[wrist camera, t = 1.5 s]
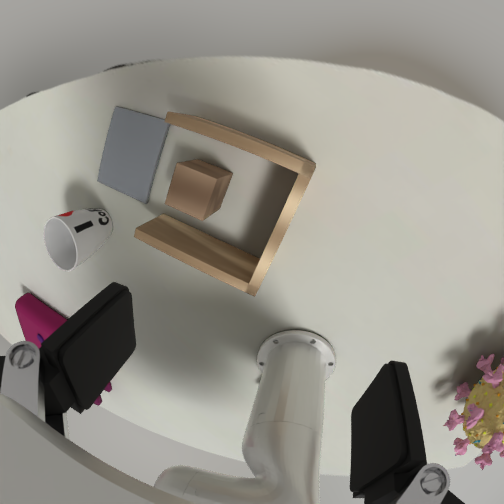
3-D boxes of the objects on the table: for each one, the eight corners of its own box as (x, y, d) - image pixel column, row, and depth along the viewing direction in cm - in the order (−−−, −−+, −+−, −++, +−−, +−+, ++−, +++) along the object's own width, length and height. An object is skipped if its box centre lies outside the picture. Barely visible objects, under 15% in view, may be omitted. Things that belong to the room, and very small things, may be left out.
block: (219, 208, 36) (202, 220, 30) (186, 194, 36) (164, 203, 31) (233, 173, 34) (217, 179, 28) (198, 159, 34) (176, 162, 29)
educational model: (534, 311, 29) (583, 378, 11) (511, 386, 35) (537, 448, 17) (438, 353, 36) (471, 448, 18) (429, 421, 43) (442, 495, 25)
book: (30, 289, 56) (11, 302, 49) (104, 338, 53) (85, 358, 46) (44, 344, 64) (30, 357, 57) (113, 390, 61) (99, 408, 55)
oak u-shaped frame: (265, 270, 38) (254, 296, 31) (161, 221, 38) (134, 236, 32) (315, 163, 31) (315, 167, 25) (194, 115, 32) (167, 111, 26)
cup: (124, 214, 39) (80, 234, 30) (114, 255, 43) (74, 281, 34) (90, 192, 39) (45, 207, 30) (82, 232, 43) (42, 253, 34)
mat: (147, 202, 38) (145, 203, 37) (99, 180, 38) (97, 181, 38) (171, 121, 33) (169, 121, 32) (117, 106, 33) (115, 106, 33)
